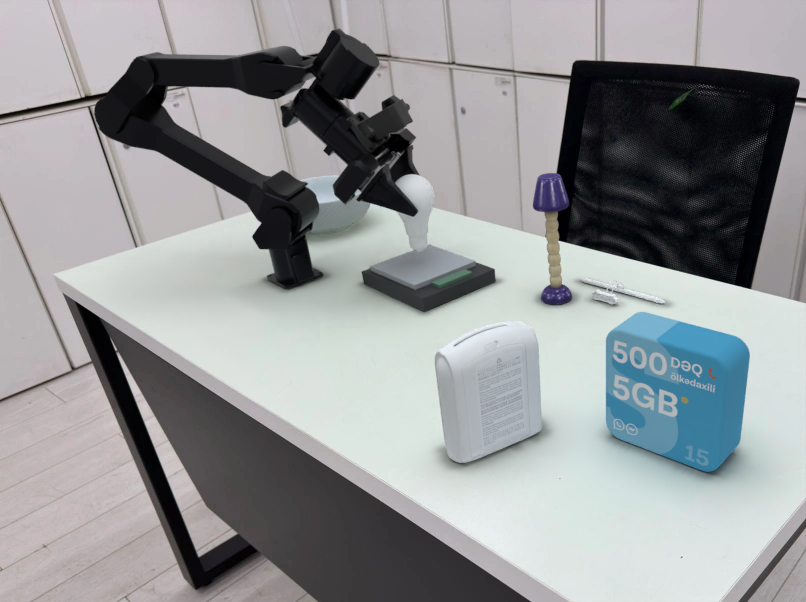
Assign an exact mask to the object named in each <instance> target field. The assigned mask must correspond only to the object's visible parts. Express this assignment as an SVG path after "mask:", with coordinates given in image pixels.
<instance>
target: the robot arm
mask: <svg viewBox="0 0 806 602" xmlns="http://www.w3.org/2000/svg"><path fill="white" fill-rule="evenodd" d="M379 67H380V59H379V58H378V56H377V54H376V53H375V52H374V50H373V49H372V48H371V47H370V46H369V45H368V44H366V43H365V42H362V41H360V40H359V39H357V38H356V37H354V36H352V35H349V34H347V33H345V32H344V31H343V30H342V29H341V28H334V29H332V30H331V31H330V32H329V34H328V35H327V38H326V40H325V43H324V45H323V46H322V48H321V49H320V51H319V52H318V54H317V55H316V56H311V55H310V56H309V55H302V54H300V53H299V52H298V51H297V50H296V48H294V47H291V46H288V45H280V46H275V47H270V48H265V49H260V50H256V51H251V52H246V53H241V54H236V55H235V54H234V55H233V54H187V53H186V54H183V53H179V54H178V53H177V54H176V53H162V52H160V51H155V52H151V53H147V54H142V55H138V56H136V57H135V58H134V59H133V60H132V61H131V63H130V64H129V65H128V67H127V70H126V71H125V72H124V73H123V74H122V76H121V77H120V78H119V79H118V80H117V81H116V82H115V83H114V84H113V85H112V86H111V87H110V88H109V90H108V91H107V93H106V95H104V97H103V98H99V99H98V100H97V102H96V103H95V105H94V108H93V110H94V111H93V112H94V113H93V114H94V115H93V116H94V118H95V122H96V123H97V125H98V130H99V131H100V132H101V133H102V134H103V135H104V136H105V137H107V138H109V139H110V140H112V141H114V142H118V143H120V144H122V145H125V146H128V147H131V148H136V149H141V150H148V151H152V152H157V153H159V154H160V155H162V156H164V157H165V158H167V159H169V160H170V161H172V162H174V163H176V164H177V165H179V166H181V167H183V168H184V169H185V170H188V171H189V172H191V173H192V174H195V175H197V176H198V177H200V178H202V179H204V180H205V181H207V182H208V183H210V184H212V185H214V186H216V187H217V188H219V189H220V190H222V191H223V192H226V193H228V194H230V195H231V196H233V197H235V198H236V199H238V200H240V201H242V202H243V203H244V204H245V205H247V207H248V208H249V210H250V211H251V213H252V215H253V216H254V217H255V219H256V220H257V221H258V222H259V223H260V224H259V226H258V227H257V228H256V230H255V231H254V232H253V234H252V236H251V238H252V239H253V242H254V243H255V244H256V246H257V248H258V249H259V250H268V252H269V256H270V260H271V265H272V268H273V273H270V274H267V275H266V279H267V280H269V281H270V282H272V283H274V284H276V285H278V286H280V287H281V288H283V289H285V290H287V289H291V288H294V287H297V286H299V285H303V284H305V283H308V282H311V281H314V280H316V279H319V278H322V277H324V272H323V271H321V270H318V269H316V268H315V267H313V262H312V258H311V253H310V248H309V244H308V243H309V242H308V239H307V235H306V234H309V233H310V232H309V231H311V230H312V229H313V223H314V220H315V219H316V218H317V216H318V214H319V203H318V200H317V198H316V197H317V196H316V194H315V193H314V192H313V191H312V190H311V189H309V188H307V187H305V186H307V185H308V183H307V182H302V181H300V180H301V179H297V178H296V177H295V176H294V175H292V174H291V173H290V172H288V171H286V170H285V169H284V170H283V169H281V170H279V171H278V172H276V173H275V174H273V175H272V176H271V175H266V174H262V173H261V172H259V171H257V170H256V169H254V168H253V167H250V166H249V165H248V164H245V163H244V162H242V161H240V160H239V159H237V158H235V157H234V156H232V155H230V154H229V153H227V152H225V151H224V150H221V149H220V148H219V147H216V146H215V145H213V144H212V143H210V142H207V140H205V139H202V138H201V137H199V136H198V135H196V134H194V133H192V132H190V131H189V130H187V129H185V128H184V127H182V126H181V125H179V124H178V123H176V122H175V121H174V120H173V118H172V116H171V115H170V113H169V112H168V110H167V109H166V107H165V106H164V105H163V104H164V103H165V101H166V99H167V96H168V89H169V87H176V88H178V87H179V88H180V87H181V88H182V87H183V88H219V89H220V88H221V89H233V90H238V91H240V92H242V93H243V94H246V95H249V96H252V97H257V98H263V99H266V100H271V101H272V100H279V99H281V98H282V97H285V96H287V95H290V94H292V93H294V92H297V93H296V95H295V96H294V98H293V99H292V100H291V102H287V103H285V104H282V105H281V106H280V107H279V109H280V112H281V125H282V127H283V128H285V129H286V128H289V127H290V126H293V125H295V124H297V123H298V122H300V124H302V125H303V126H304V127H306V129H307V130H309V131H310V132H311V133H312V134H313V135H314V136H315V137H316V138H317V139H319V140H320V141H321V142H322V144H324V145H325V147H324V149H323V150H322V151H323V152H324V153H325V154H326V155H328V157H330V156H331V155H333V154H335V155H336V156H337V157H338V158H339V159H340V160H341V161H342V162H344V163H345V164H346V166H345V168H344V169H343V171H342V172H341V173H340V174H339V175H340V176H339V177H338V179H337V180H336V181H335V183H334V184H333V190H334V195H335V196H336V197H337V198H338V199H340V200H341V201H342V202H343V203H344V204H345V205H346V204H347V203H348V202H350V201H351V200H352V199H353V198H354V197H355V192H356V191H357V190H359V191H360V192H362V193H361V194H360V195H359V197H358V198H357V199H356V200H357V201H358V202H360V201H363V202H367V203H370V205H375V206H378V207H382V208H386V209H388V210H391V211H394V212H396V211H397V212H400V213H403V214H406V215H409V216H412V217H414V216H415V215H416V214H417V213H418V210H417V208H416V207H415V206H414V204H413V203H412V202H411V201H410V200H409V198H408V197H407V196H406V195H405V194H404V193H403V192H402V191H401V189H400V188H399V187H398V186H397V185H396V184H395V182H396V181H397V180H398V179H399V178H401V177H403V176H405V175H409V174H416V175H419V176H421V174H420V173H419V171H418V169H417V167H416V166H415V164H414V161H413V151H414V145H413V143H414V142H415V140H416V139H417V136H416V135H414V133H412V131H410V130H409V129H408V128H407V126H408V125H409V124H412V123H413V122H414V120H413V118H412V116H411V115H410V112H409V111H410V109H411V106H410V104H409V103H407V102H405V100H404V99H403V98H399V97H397V96H396V95H395V94H392V95H391V96H389V97H388V98H386V99H384V100H382V101H381V110H379V112H376V113H375V114H373V115H371V116H369V115H368V114H366V113H365V112H364V111H358V112H356V113H354V112H353V111H352V110H351V109H350V108H349V107H348V106H347V105H346V104H345V103H344V102H342V101H345V100H355V99H357V97H358V95H359V94H360V93H361V91H362V90H363V89H364V87H365V86H366V84H367V83H368V82H369V80H370V79H371V77H372V76H373V75H374V73H376V70H377V69H378V68H379ZM311 79H314V80H313V81H312V83H311V84H310V86H309V87H308V88H306V87H304V85H305V84H306V82H307V81H309V80H311ZM397 212H396V213H397Z"/></svg>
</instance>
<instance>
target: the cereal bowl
mask: <svg viewBox="0 0 806 602" xmlns="http://www.w3.org/2000/svg"><path fill="white" fill-rule="evenodd" d="M340 175H341V174H337V175H336V174H334V175H333V174H331V175H321V176H314V177H307V178H303V179H299V180H300V181H302V182H307V183H308V185H307V186H305V187H307V188H309V189H311V190H312V191H313V192H314V193H315V194H316V196H317V197H316V198H317V200H318V203H319V214H318V216H317V218H316V219H315V220H314V223H313V229H312V230H311V231H309V232H308V233H309V234H314V235H327V234H335V233H338V232H341V231H344V230H346V229H348V228H349V227H350V226H351V225H353V224H355V223H356V222H358V221H360V220H361V219H362V218H363V217H364V216H366V214H367V213H368V211H369V209H370V207H371V203H367V202H363V201H360V202H358V201H357V200H356V199H357V198H358V197H359V195H360V194H361V193H362V192H360V191H359V190H357V191H356V192H355V197H354V198H353V199H352V200H351V201H350V202H348V203H347V204H346V205H345V204H344V203H343V202H342V201H341V200H340V199H338V198H337V197H336V196H335V195H334V190H333V184H334V183H335V181H336V180H337V179H338V177H339V176H340Z"/></svg>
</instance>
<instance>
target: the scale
mask: <svg viewBox="0 0 806 602" xmlns="http://www.w3.org/2000/svg"><path fill="white" fill-rule="evenodd" d="M361 277H362V282H363V285H366V286H367V287H369V288H371V289H373V290H376V291H378V292H380V293H383V294H384V295H386V296H389V297H391V298H393V299H396V300H398V301H400V302H402V303H405V304H406V305H409V306H411V307H413V308H415V309H417V310H420V311H421V312H427V311H430V310H432V309H434V308H436V307H440V306H442V305H444V304H446V303H449V302H451V301H453V300H456V299H458V298H460V297H462V296H466V295H467V294H470V293H471V292H475V291H478V290H479V289H482V288H484V287H486V286H489V285H491V284H493V283H496V282H497V279H496V269H495V268H493V267H490V266H488V265H484V264H483V263H479V262H477V261H476V260H474V259H471V258H469V257H466V256H463V255H460V254H459V253H455V252H453V251H450V250H447V249H444V248H440V247H438V246H435V245H432V244H428V246H427V248H425V249H424V250H423V251H421V252H417V251H416V250H413V249H412V250H410V251H407V252H405V253H402V254H399V255H397V256H394V257H391V258H388V259H386V260H382V261H380V262H377V263H375V264H372V265H369V268H368V269H365V270H362V271H361Z"/></svg>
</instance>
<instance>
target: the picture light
mask: <svg viewBox="0 0 806 602" xmlns="http://www.w3.org/2000/svg"><path fill="white" fill-rule="evenodd" d="M579 280H580V281H581V282H583V283H585V284H589V285H593V286H597V287H600V288H603V289H606V291H602V290H600V289H596V290H594V291H592V292H591V293H590V295H591V297H592V298H593V299H594V300H595V301H601V302H605V303H608V304H609V305H614V304H616V303H618V302H619V301H620V298H619V297H618V296H617V294H616V293H613V292H614V291H615V292H618V293H623V294H626V295H629V296H632V297H636V298H639V299H643V300H646V301H650V302H653V303H656V304H665V303H666V301H665V300H664V299H663V298H660V297H658V296H654V295H650V294H646V293H642V292H639V291H635V290H631V289H628V288H626V286H624V283H623V282H622V281H617V280H615V279H613V280H611V281H609V283H606V282H603V281H599V280H595V279H591V278H589V277H579ZM613 282H616V283H614V284H612V283H613ZM619 283H620V284H619ZM608 290H611V292H610V293H609V292H608Z"/></svg>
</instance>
